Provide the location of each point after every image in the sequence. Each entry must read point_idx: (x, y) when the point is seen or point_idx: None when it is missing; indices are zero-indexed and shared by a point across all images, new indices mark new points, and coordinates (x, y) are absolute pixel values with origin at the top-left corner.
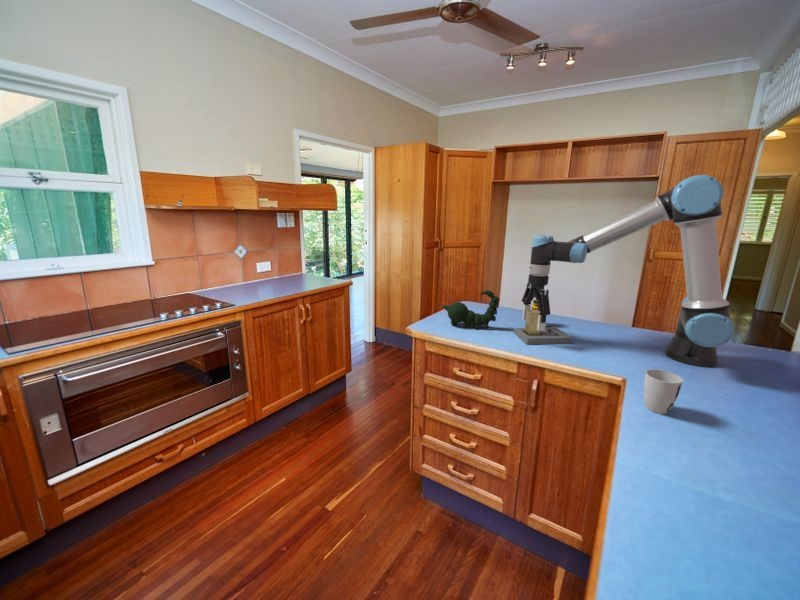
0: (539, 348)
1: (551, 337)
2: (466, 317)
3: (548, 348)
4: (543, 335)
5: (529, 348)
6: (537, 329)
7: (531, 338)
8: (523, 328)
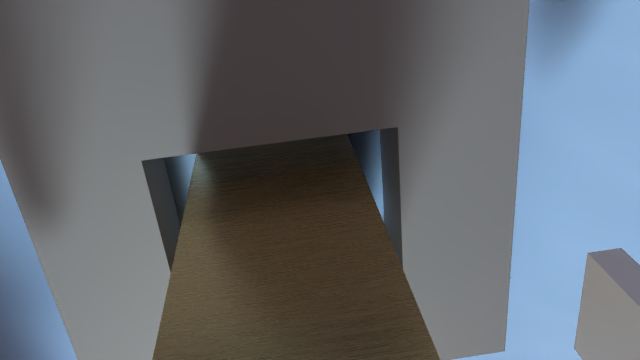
0: (597, 207)
1: (495, 24)
2: None
3: (618, 107)
4: (400, 122)
5: (578, 300)
6: (589, 352)
7: (502, 308)
8: (96, 315)
